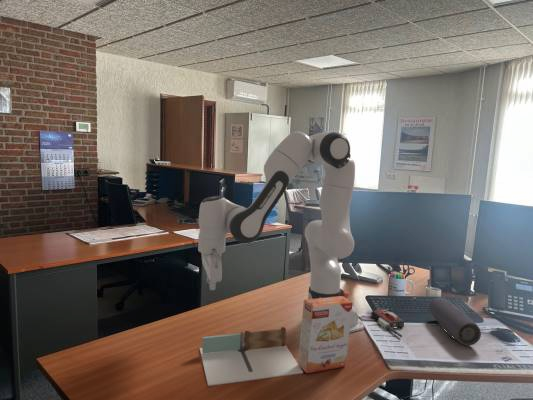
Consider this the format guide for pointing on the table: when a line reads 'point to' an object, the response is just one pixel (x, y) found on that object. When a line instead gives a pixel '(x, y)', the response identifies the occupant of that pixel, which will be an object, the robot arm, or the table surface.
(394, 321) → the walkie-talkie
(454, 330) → the bluetooth speaker
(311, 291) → the robot arm
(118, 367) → the table surface
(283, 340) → the fence
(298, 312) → the table surface
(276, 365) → the card
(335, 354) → the cracker box
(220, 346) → the gate panel
